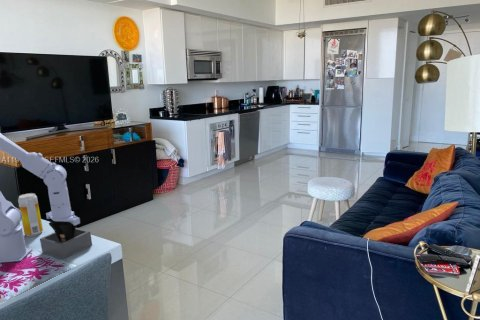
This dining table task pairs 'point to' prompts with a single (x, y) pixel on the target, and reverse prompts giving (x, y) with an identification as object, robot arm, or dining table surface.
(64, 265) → the dining table surface
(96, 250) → the dining table surface
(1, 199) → the robot arm
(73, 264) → the dining table surface
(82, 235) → the grey square open box
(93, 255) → the dining table surface
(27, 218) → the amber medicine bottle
